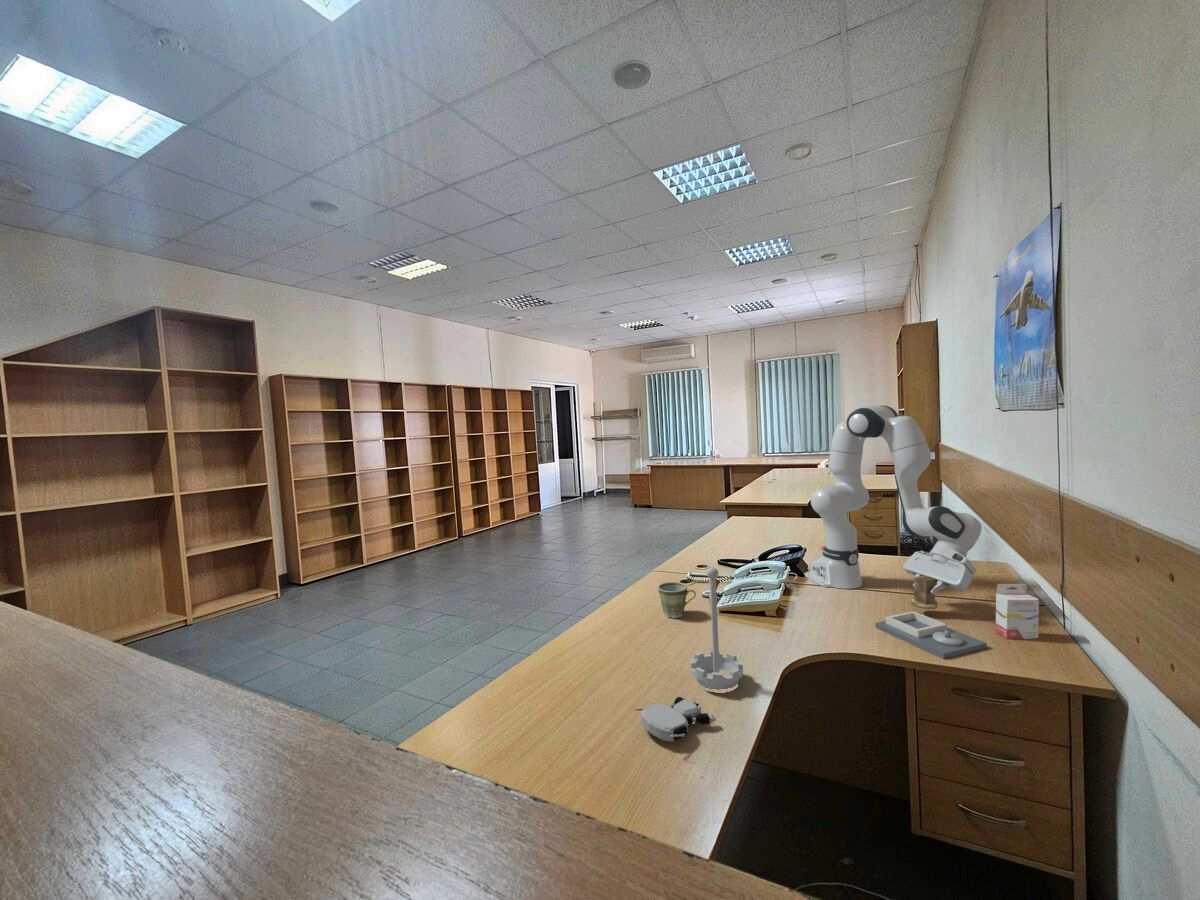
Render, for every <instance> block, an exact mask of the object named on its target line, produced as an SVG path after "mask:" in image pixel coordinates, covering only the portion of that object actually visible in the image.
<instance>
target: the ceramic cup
mask: <svg viewBox="0 0 1200 900" xmlns="http://www.w3.org/2000/svg"><path fill="white" fill-rule="evenodd" d="M657 590H658V594H659V598H660V603H661V608H662V613H663V615H664V617H666V616H667V617H666V618H668V617H672V618H671V619H674V618H676V619H678V618H677V617H680V618H683V616H684V615H685V607H686V605H688V604H689V603H690V602H691V601H692V600H694V599H695V597H697V595H696V594H697V593H696V591H695V590H694V589H688V586H687V584H684V583H683V582H677V581H676V582H675V581H668V582H663V583H661V584H659V585H658V587H657ZM689 593H693V594H694V596H693V597H691V598H689V599H688V601H686V598H687V596H688V594H689ZM683 614H684V615H683Z"/></svg>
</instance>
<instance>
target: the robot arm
mask: <svg viewBox="0 0 1200 900" xmlns="http://www.w3.org/2000/svg"><path fill="white" fill-rule="evenodd" d="M880 437H881V438H883V440H885V442H886V443H887V446H888V448H889V450H890V451H889V452H890V453H891V457H892V461H893V465H894V480H895V485H896V490H897V492H898V497H899V500H900V505H901V510H902V518H901V519H902V526H903V528H904V529H905V531H906V533H907V534H908V535H910V536H912V537H914V538H918V539H922V538H927V537H935V538H936V539H937V541H936V542H935V544H934V546H932V548H931V550H930V551H929V552H927V551H924V550H918V551H914V552H913V554H912V555H910V556H909V558H908V559H906V561H905V562H904V563H903V566H902V569H904V571H905V572H906V573H907V574H908V575H911V576H914V577H918V576H923V575H924V576H927V577H930V578H933V579H935V586H934V587H930V588H929V590H928V592H929V593H930V594H932V595H935V596H936V595H937V593H938V592H940V591H942V590H944V589H945V588H946V587H947V588H951V589H953V590H956V591H960V592H963V591H966V590H967V589H968V588H969V586H971V585H970V584H971V583H972V580H973V579H974V576H973V575H974V574H976V573H977V569H976V567H975V566H974V564H973V563H972V562H971V560H969V559H968V558H967V555H968V552H969V551H970V550H971V549H973V548H974V546H975V545H976V543H977V542H978V540H979V538H980V536H981V533H982V531H983V530H982V523H981V522H980V521H979V520H978V519H977V518H976V517H975V516H973V515H972V514H970V513H967V512H957V511H953V510H951V509H950V508H948V507H946V506H942V505H941V506H937V505H936V506H930V507H924V506H923V503H922V499H921V495H920V492H919V488H918V480H919V477H920V476H921V475H922V473H923V472H924V471H925V470H927V469H928V467H929V465H930V464H931V460H932V456H931V449H930V447H929V444H928V443H927V440H926V437H925V435H924V433H923V431H922V429H921V428H920V426H919V425H918V423H917V421H916V420H915V419H914V418H913V417H911V416H910V415H909V416H908V415H900V416H899V414H898V412H897V411H896V409H894V408H893V407H891V406H888V405H883V404H882V405H881V404H880V405H870V406H866V407H859V408H856V409H855V410H853V411H852V412H850V414H848V416H847V418H846V420H845V421H841V422H840V423H838V424H837V425H836V426H835V429H834V432H833V435H832V437H831V438H832V440H831V443H830V451H829V459H828V470H829V472H831V473H832V474H833V476H834V484H833V485H828V486H823V487H820V488H819V489H816V490H815V491H813V492H812V494H811V496H810V505H811V507H812V509H813V511H815V513H817V514H818V515H819V517H820V518H821V521H822V523H823V526H824V537H825V546H821V547H820V548H821V549H820V550H821V551H822V554H821V555H820V556H818V557H817V558H815V559H814V560H812V561H811V563H810V568H809V569H810V570H809V571H808V570H807V571H805V572H804V573H803V575H805V576H804V577H806V578H807V579H809V580H811V581H813V582H814V583H816V584H818V585H819V586H821V587H824V588H836V589H843V590H844V589H847V590H848V589H849V590H851V589H858V588H861V587H863V577H862V576H861V569H860V561H859V557H860V556H859V553H860V552H859V547H858V533H857V532H858V531H857V529H856V526H854V525H853V524H852V523H851V522H850V519H849V516H848V512H853V511H858V510H860V509H862V508H863V507H865V506H867V505H868V504H869V501H870V494H869V491H868V489H867V487H865V485H864V483H863V481H862V474H861V466H862V459H863V451H864V444H865V441H866V439H867V438H869V439H870V438H871V439H872V438H874V439H875V438H880ZM912 587H913V588H914V583H913V584H912Z"/></svg>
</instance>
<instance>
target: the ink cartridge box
mask: <svg viewBox="0 0 1200 900" xmlns="http://www.w3.org/2000/svg"><path fill="white" fill-rule="evenodd" d="M1010 588H1016V589H1010ZM1027 588H1028V584H1026V583H998V584H997V586H996V594H995V633H996V634H998V635H1000V636H1001V637H1003V638H1004V639H1006V640H1032V639H1031V638H1038V639H1039V623H1040V621H1039V617H1040V615H1039V614H1040V612H1039V610H1040V602H1039V601H1040V599H1039V598H1037V597H1035V596H1032V595H1030V594H1028V593H1027Z"/></svg>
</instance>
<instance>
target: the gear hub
mask: <svg viewBox="0 0 1200 900" xmlns="http://www.w3.org/2000/svg"><path fill="white" fill-rule="evenodd" d="M913 579H914V581H913V584H914V587H913V589H914V593H913V594H914V595H913V596H914V597H913V598H912V599H911V605H913V606H914V607H916V608H919V609H923V610H936V609H937V608H938V605H939V604H938V601H936V594H935V595H932V594H930V593H929V592H928V590H929V588H930V587H934V586H936V583H935V579H933V578H930V577H927V576H924V575H923V576H918V577H915V576H914V578H913Z"/></svg>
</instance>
